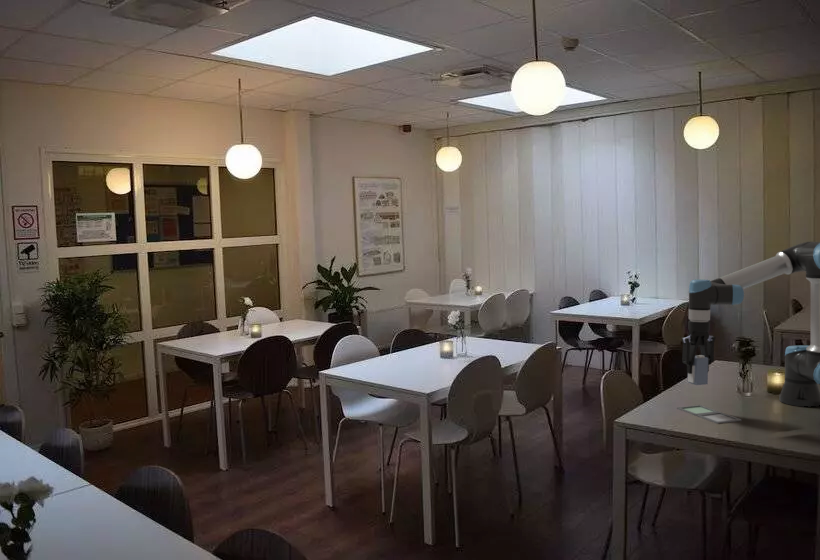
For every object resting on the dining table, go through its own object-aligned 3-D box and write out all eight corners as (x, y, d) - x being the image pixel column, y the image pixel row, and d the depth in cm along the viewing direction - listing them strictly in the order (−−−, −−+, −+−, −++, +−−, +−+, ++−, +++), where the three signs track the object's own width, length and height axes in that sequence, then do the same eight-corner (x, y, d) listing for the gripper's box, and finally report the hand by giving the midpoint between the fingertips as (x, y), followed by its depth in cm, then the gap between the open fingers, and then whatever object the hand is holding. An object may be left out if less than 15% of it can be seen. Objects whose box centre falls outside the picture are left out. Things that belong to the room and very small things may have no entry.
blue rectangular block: (698, 381, 263) (699, 353, 262) (707, 384, 258) (708, 355, 258) (687, 382, 262) (688, 354, 261) (696, 385, 257) (697, 356, 256)
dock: (704, 408, 269) (704, 403, 269) (748, 423, 247) (748, 418, 247) (670, 412, 264) (670, 407, 264) (711, 428, 243) (711, 423, 243)
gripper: (711, 318, 264) (710, 377, 266) (672, 320, 259) (670, 381, 261) (726, 320, 257) (724, 381, 259) (685, 323, 252) (684, 385, 254)
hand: (697, 381), depth 260 cm, fingers closed on blue rectangular block, 5 cm apart
